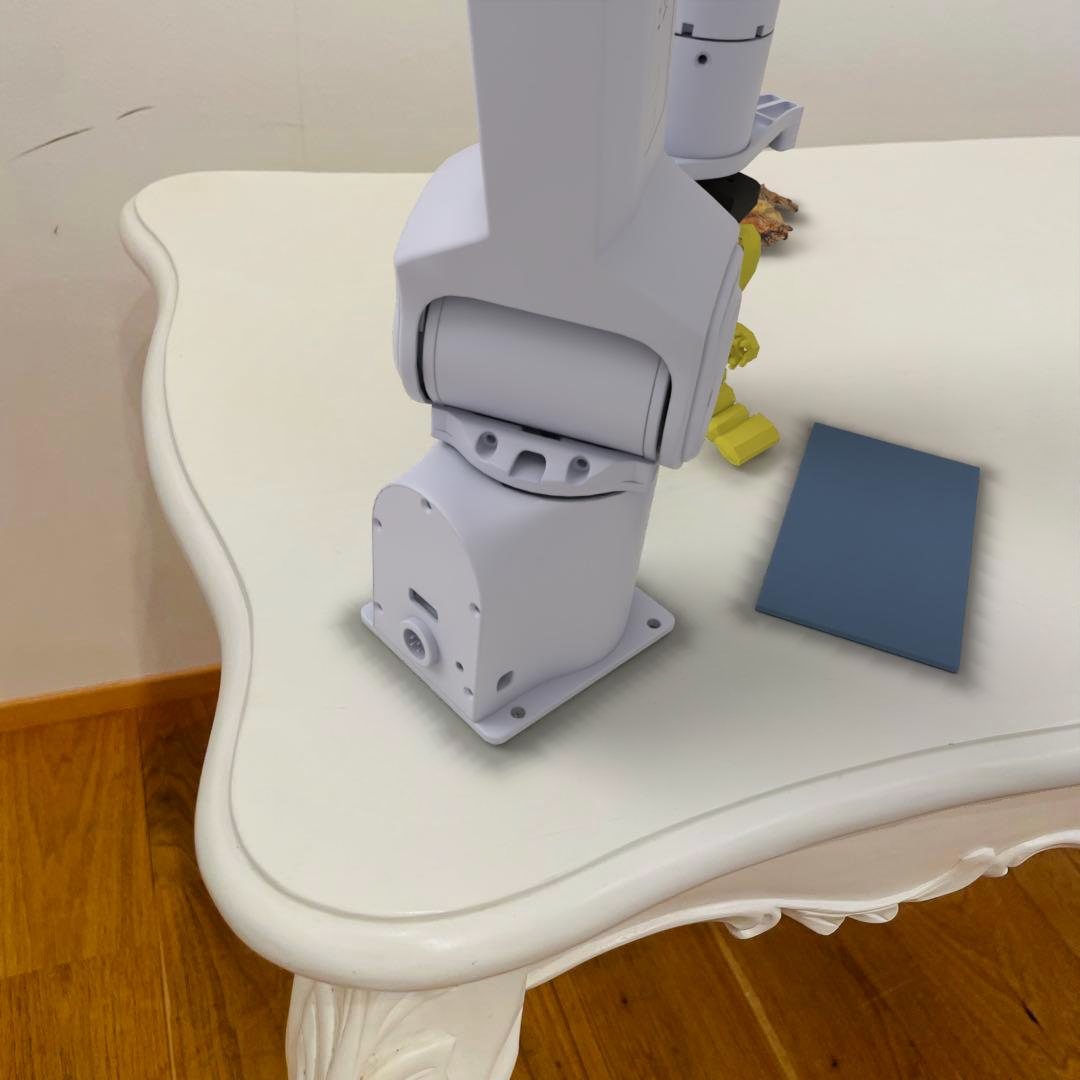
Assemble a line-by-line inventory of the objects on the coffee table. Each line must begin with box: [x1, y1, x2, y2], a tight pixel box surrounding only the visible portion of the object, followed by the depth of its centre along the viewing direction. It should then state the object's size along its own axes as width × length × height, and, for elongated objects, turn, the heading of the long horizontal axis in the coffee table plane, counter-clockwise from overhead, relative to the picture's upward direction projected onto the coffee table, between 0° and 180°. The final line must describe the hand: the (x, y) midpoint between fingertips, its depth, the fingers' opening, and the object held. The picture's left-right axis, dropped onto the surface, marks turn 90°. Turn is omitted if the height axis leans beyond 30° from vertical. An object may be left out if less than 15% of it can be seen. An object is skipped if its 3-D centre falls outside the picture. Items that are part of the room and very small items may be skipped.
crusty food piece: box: [737, 183, 799, 247], centre depth 70 cm, size 9×12×3 cm
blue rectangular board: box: [754, 421, 981, 674], centre depth 48 cm, size 14×8×1 cm, turn 160°
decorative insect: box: [705, 224, 781, 467], centre depth 52 cm, size 13×3×10 cm
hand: (646, 324), depth 52 cm, fingers closed on decorative insect
